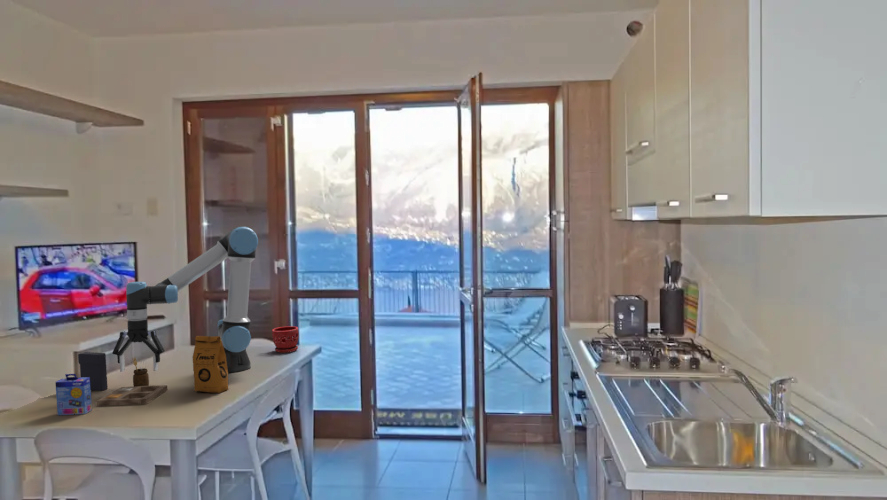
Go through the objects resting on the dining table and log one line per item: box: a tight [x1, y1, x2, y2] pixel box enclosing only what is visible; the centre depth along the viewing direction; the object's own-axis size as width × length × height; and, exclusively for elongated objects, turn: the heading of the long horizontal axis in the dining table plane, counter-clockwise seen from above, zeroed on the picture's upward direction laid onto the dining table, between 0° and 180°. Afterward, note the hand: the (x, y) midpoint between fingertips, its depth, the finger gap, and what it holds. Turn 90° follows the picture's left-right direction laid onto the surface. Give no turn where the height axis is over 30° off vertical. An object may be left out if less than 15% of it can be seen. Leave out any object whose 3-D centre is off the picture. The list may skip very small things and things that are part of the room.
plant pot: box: [271, 325, 300, 354], centre depth 335 cm, size 13×13×12 cm
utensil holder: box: [131, 357, 150, 387], centre depth 269 cm, size 6×6×12 cm
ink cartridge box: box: [54, 373, 93, 416], centre depth 233 cm, size 10×6×14 cm, turn 95°
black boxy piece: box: [77, 351, 109, 392], centre depth 267 cm, size 11×4×15 cm, turn 71°
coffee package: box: [192, 335, 229, 394], centre depth 258 cm, size 10×12×22 cm
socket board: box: [96, 384, 168, 407], centre depth 252 cm, size 18×20×2 cm
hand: (139, 370), depth 269 cm, fingers open, 13 cm apart
